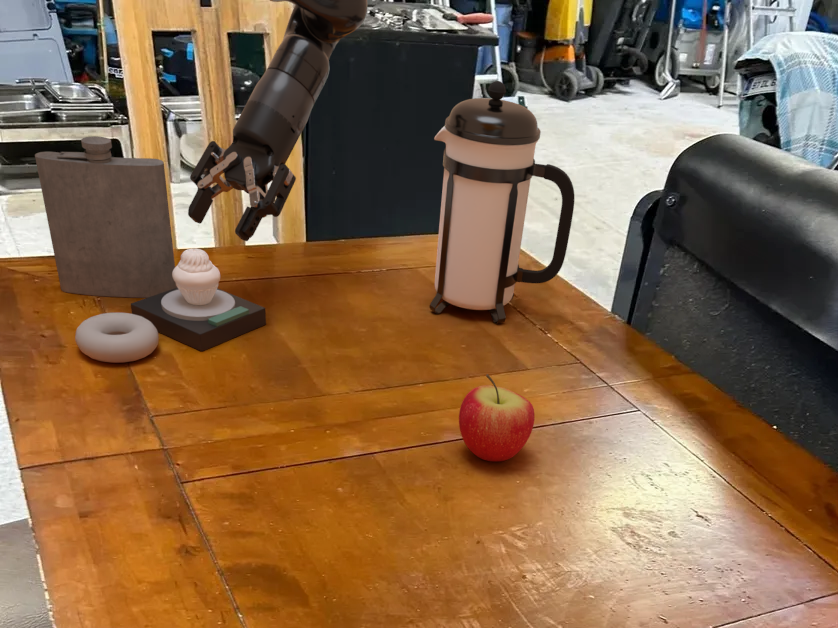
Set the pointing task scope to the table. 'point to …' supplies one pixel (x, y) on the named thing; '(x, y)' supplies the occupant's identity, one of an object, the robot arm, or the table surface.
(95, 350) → the donut
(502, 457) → the apple
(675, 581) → the table surface
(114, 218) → the hip flask
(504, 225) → the coffee press
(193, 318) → the scale
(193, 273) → the muffin
